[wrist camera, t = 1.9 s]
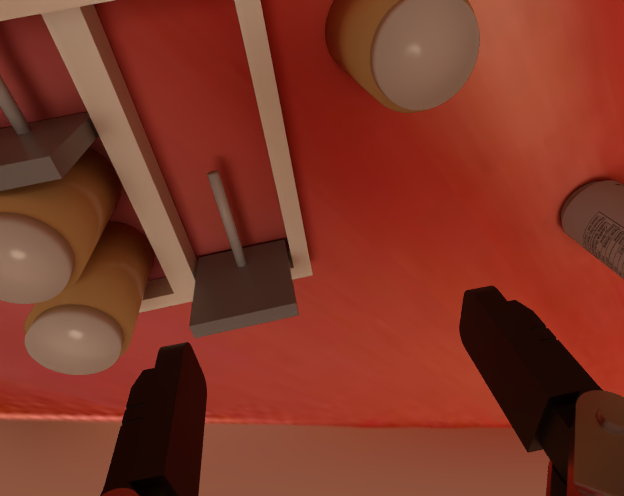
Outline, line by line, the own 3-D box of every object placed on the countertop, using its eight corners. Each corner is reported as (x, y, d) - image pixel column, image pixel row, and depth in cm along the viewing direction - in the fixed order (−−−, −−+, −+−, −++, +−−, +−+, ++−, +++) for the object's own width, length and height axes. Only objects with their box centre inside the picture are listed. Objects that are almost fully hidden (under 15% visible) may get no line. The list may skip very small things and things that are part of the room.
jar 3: (319, -14, 24) (362, -7, 16) (408, -30, 24) (496, -32, 16) (330, 82, 27) (370, 128, 19) (408, 67, 27) (481, 106, 19)
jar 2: (58, 230, 30) (-7, 324, 22) (136, 214, 31) (100, 301, 22) (95, 288, 34) (50, 387, 26) (164, 273, 34) (142, 366, 26)
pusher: (164, 170, 29) (142, 228, 22) (264, 150, 29) (272, 201, 22) (202, 268, 34) (194, 337, 27) (287, 250, 34) (298, 315, 28)
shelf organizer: (-127, 15, 22) (-292, 34, 15) (248, -52, 22) (254, -63, 16) (77, 309, 35) (39, 390, 28) (308, 259, 36) (325, 326, 29)
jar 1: (9, 151, 27) (-90, 230, 18) (98, 134, 27) (38, 203, 19) (56, 225, 30) (-11, 319, 22) (134, 209, 30) (97, 296, 22)
